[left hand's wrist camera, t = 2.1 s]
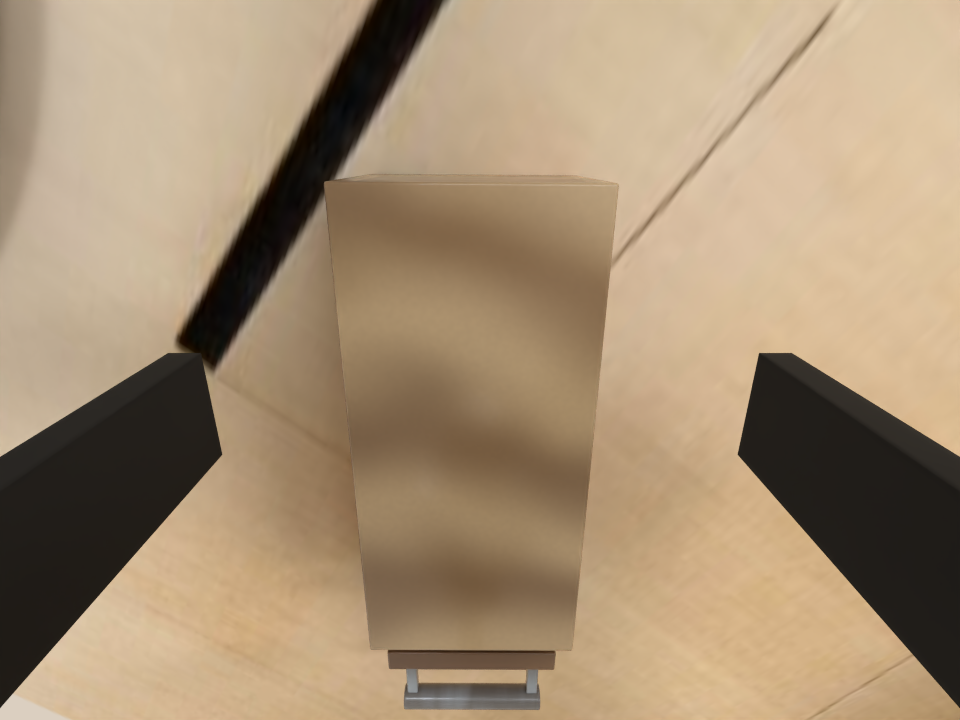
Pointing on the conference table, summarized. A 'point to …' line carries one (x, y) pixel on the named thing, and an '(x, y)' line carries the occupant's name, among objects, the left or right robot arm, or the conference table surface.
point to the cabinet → (471, 398)
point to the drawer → (472, 693)
